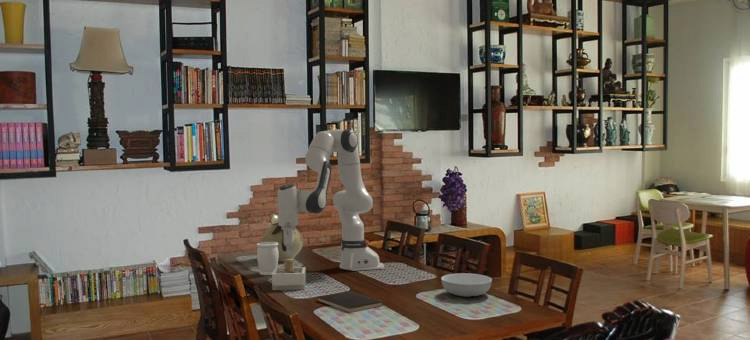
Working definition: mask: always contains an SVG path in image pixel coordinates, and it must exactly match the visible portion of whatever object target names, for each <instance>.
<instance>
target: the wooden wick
mask: <svg viewBox="0 0 750 340" xmlns="http://www.w3.org/2000/svg"><path fill="white" fill-rule="evenodd" d="M294 262H295V261H294V259H284V261H283V268H284V273H294V267H295V266H294V265H295V264H294Z"/></svg>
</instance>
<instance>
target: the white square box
mask: <svg viewBox="0 0 750 340" xmlns="http://www.w3.org/2000/svg"><path fill="white" fill-rule="evenodd" d="M306 269H307V268H306V266H297V267H295V266H294V273H284V267H277V268H274V271H273V273H272V275H271V290H272V291H288V290H289V291H291V290H294V291H295V290H305V288H306V281H307V280H306V279H307V276H306V275H307V274H306V273H307V272H306Z"/></svg>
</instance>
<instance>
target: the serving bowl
mask: <svg viewBox="0 0 750 340" xmlns="http://www.w3.org/2000/svg"><path fill="white" fill-rule="evenodd" d="M440 279H441V285H442V287H443V289H444V290H445V291H446V292H448V293H449V294H452V295H454V296H457V295H458V296H457V297H461V296H464V297H463V298H472V297H471V296H474V297H476V296H477V297H478V296H480V295H481V296H482V295H483V294H484V295H485V294H486V293H487V292H488V291H489V290H490V289H491V286H492V282H493V278H492V277H490V276H487V275H483V274H478V273H468V272H467V273H465V272H464V273H463V272H461V273H460V272H459V273H449V274H445V275H443V276H441V277H440Z"/></svg>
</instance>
